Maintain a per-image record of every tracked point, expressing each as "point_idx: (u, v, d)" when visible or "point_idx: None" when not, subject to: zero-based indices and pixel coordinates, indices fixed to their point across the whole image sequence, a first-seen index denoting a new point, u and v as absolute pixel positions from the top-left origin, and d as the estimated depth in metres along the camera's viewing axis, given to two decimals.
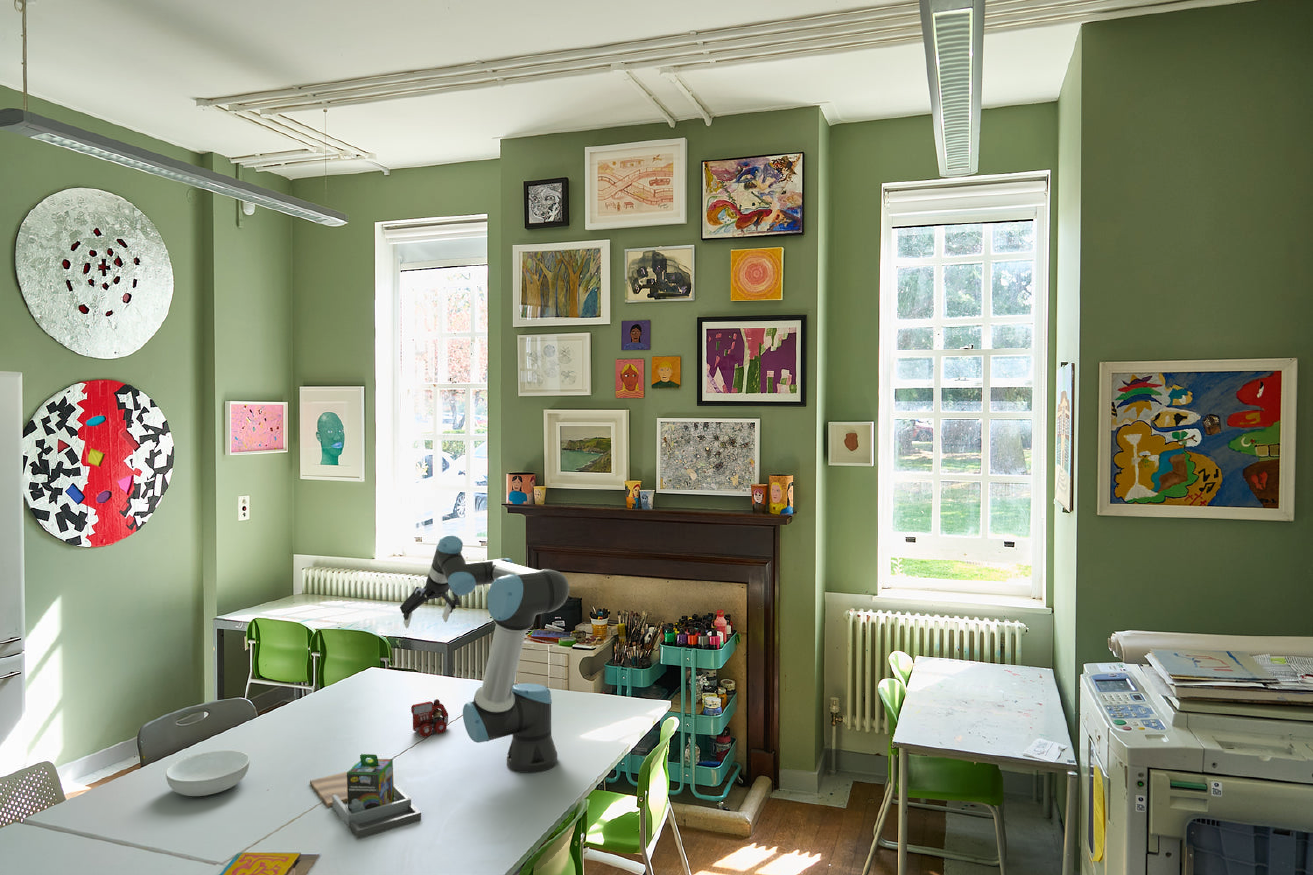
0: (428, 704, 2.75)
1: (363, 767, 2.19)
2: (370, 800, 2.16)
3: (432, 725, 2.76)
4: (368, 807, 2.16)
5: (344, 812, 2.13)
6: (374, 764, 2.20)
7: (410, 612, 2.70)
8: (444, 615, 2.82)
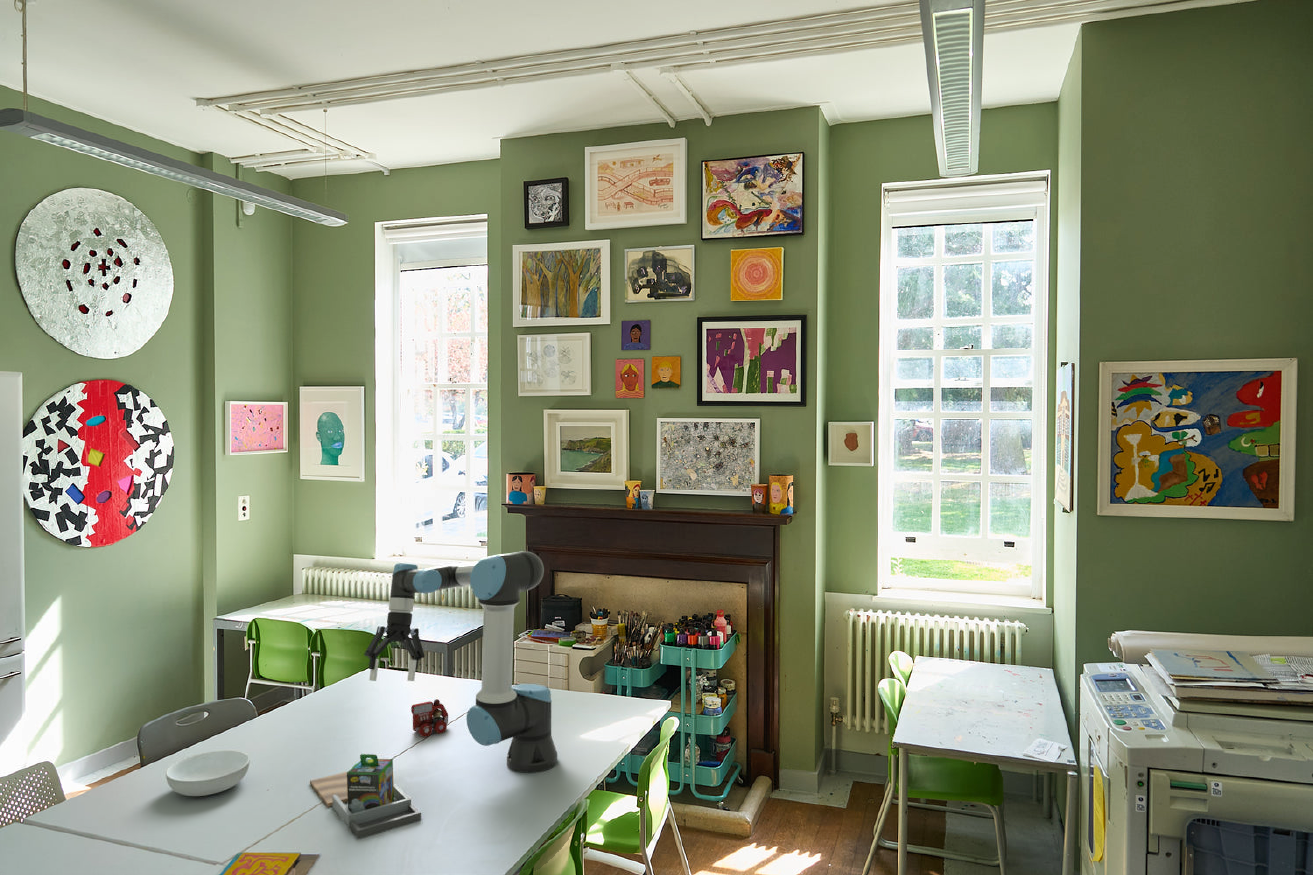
0: (428, 704, 2.75)
1: (363, 767, 2.19)
2: (370, 800, 2.16)
3: (432, 725, 2.76)
4: (368, 807, 2.16)
5: (344, 812, 2.13)
6: (374, 764, 2.20)
7: (376, 656, 2.57)
8: (410, 675, 2.66)
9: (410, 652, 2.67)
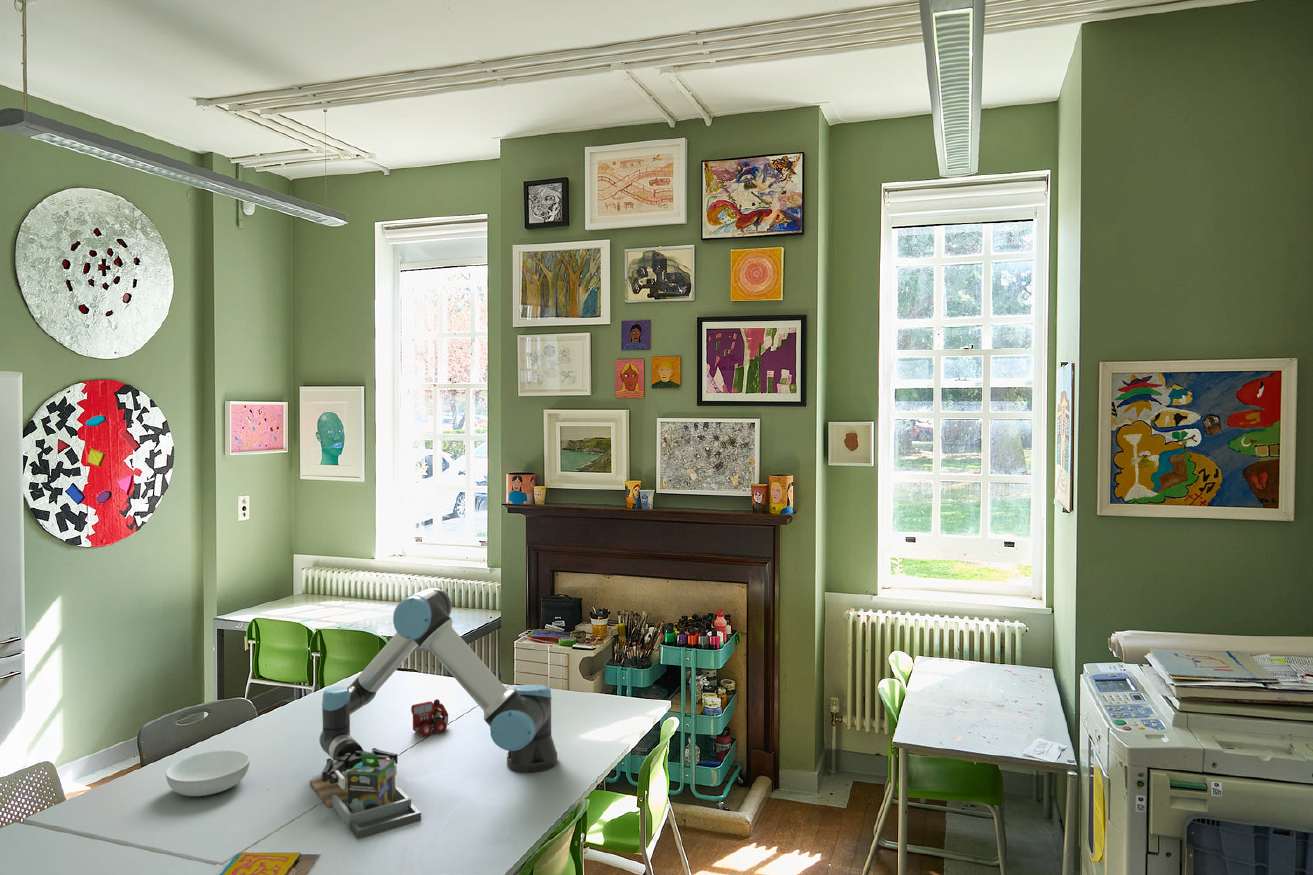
0: (428, 704, 2.75)
1: (364, 767, 2.19)
2: (369, 800, 2.16)
3: (432, 725, 2.76)
4: (367, 807, 2.16)
5: (344, 812, 2.13)
6: (375, 764, 2.20)
7: (333, 770, 2.22)
8: None
9: None
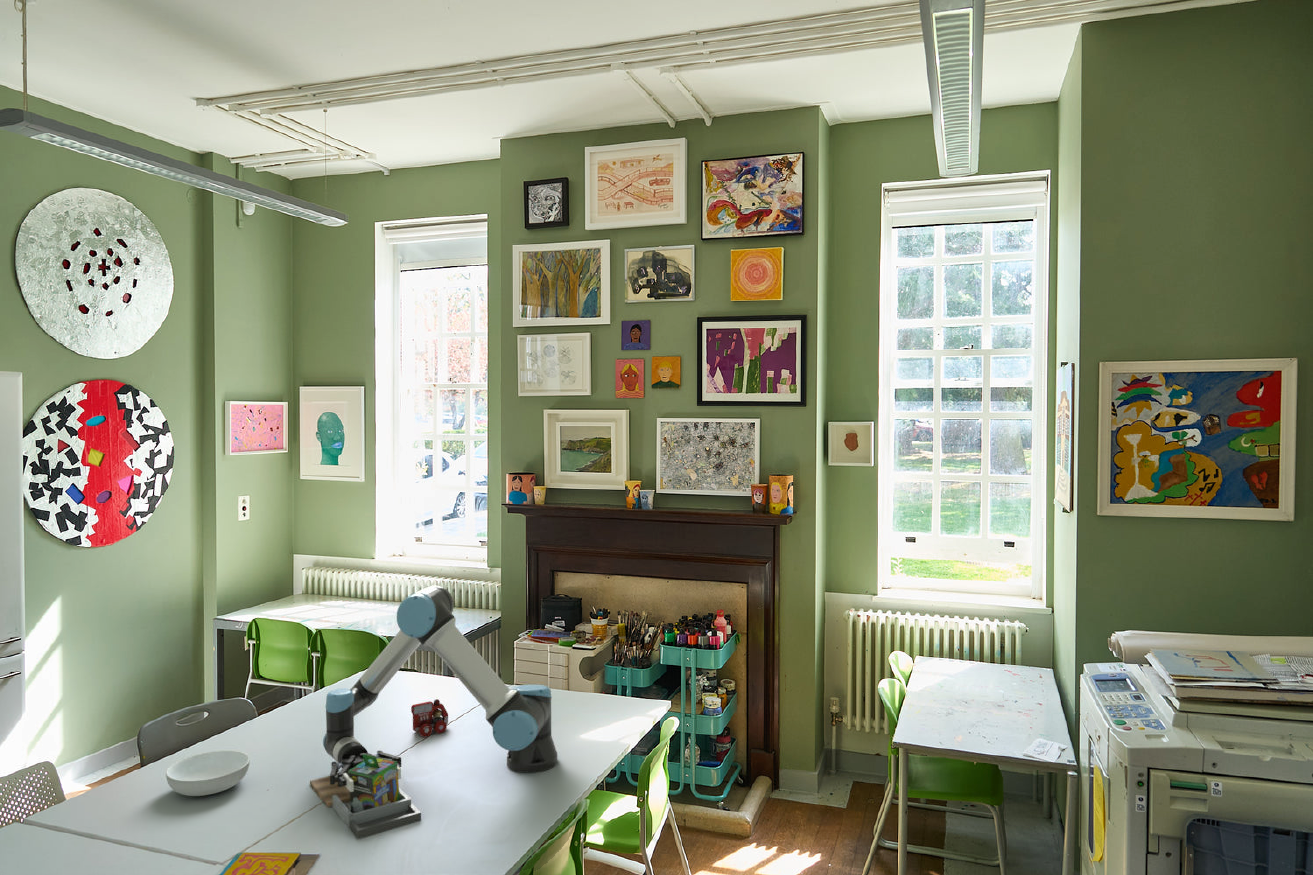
0: (428, 704, 2.75)
1: (365, 767, 2.19)
2: (367, 801, 2.15)
3: (432, 725, 2.76)
4: (366, 808, 2.16)
5: (344, 812, 2.13)
6: (375, 765, 2.19)
7: (341, 772, 2.20)
8: None
9: None
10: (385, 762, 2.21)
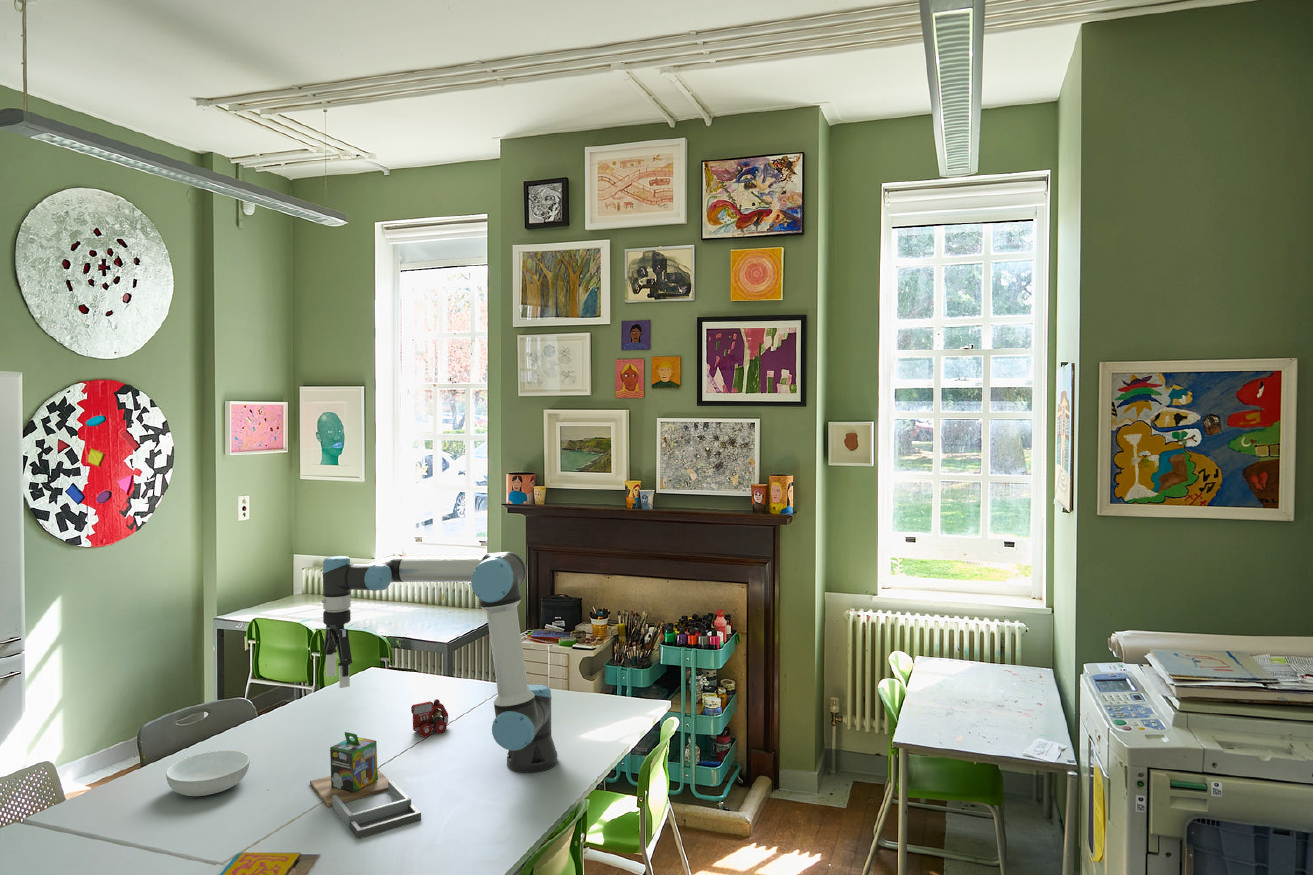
0: (428, 704, 2.75)
1: (346, 744, 2.32)
2: (346, 776, 2.28)
3: (432, 725, 2.76)
4: (345, 782, 2.29)
5: (344, 812, 2.13)
6: (355, 743, 2.32)
7: None
8: (330, 670, 2.49)
9: (331, 647, 2.48)
10: (365, 741, 2.35)
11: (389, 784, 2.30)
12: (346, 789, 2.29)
